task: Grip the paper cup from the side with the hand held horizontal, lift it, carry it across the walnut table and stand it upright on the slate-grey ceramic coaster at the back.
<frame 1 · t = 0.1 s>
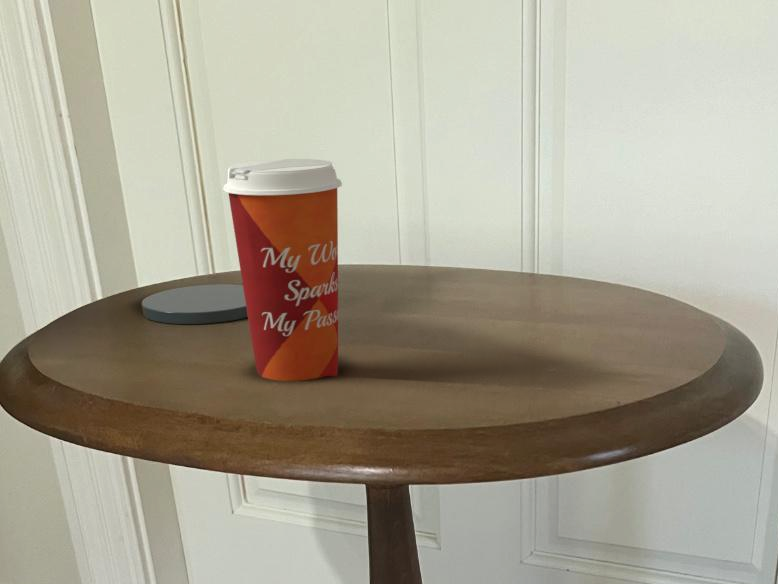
coaster: (206, 309, 96), on the table
paper cup: (299, 380, 76), on the table
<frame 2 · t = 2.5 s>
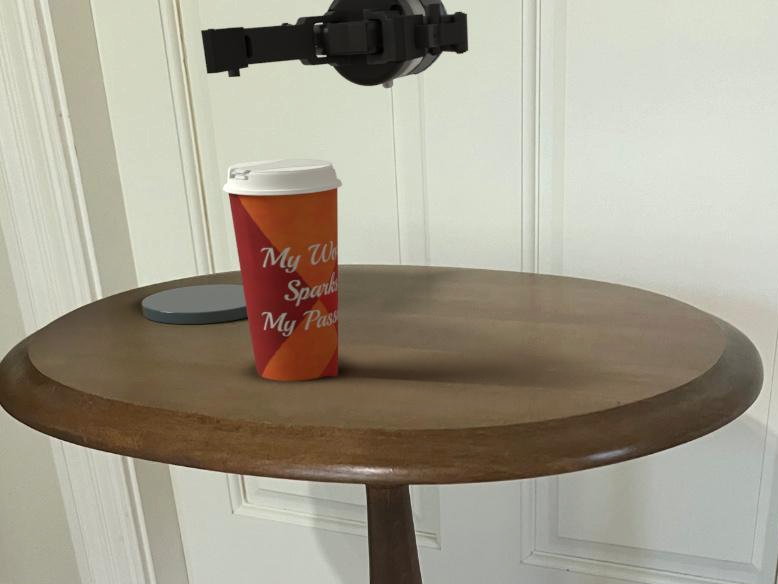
hand: (302, 45, 74), 21 cm above the table, tool horizontal, fingers open, 13 cm apart
nothing on the table moved.
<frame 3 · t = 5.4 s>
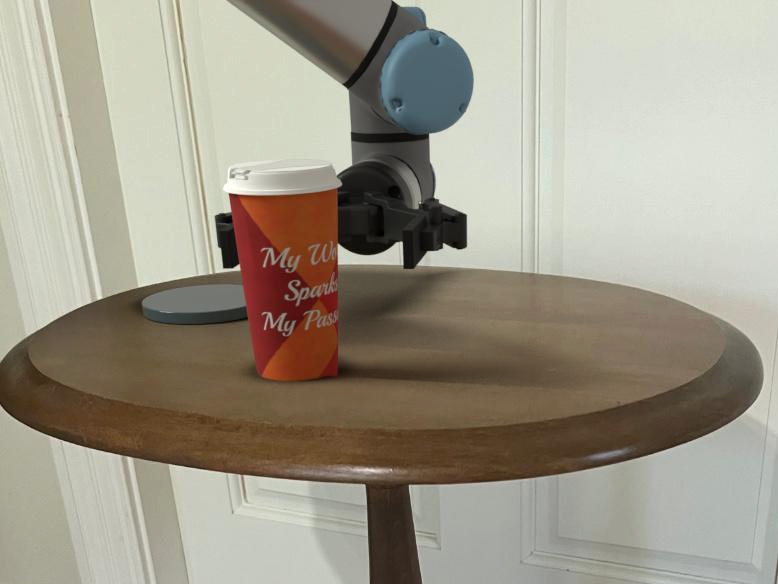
hand: (315, 249, 79), 7 cm above the table, tool horizontal, fingers open, 13 cm apart
nothing on the table moved.
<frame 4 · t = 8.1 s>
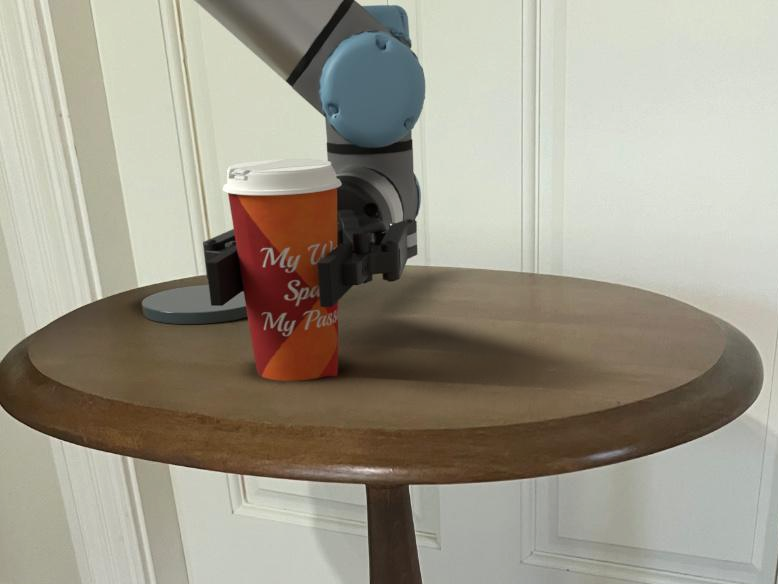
hand: (269, 284, 68), 7 cm above the table, tool horizontal, fingers closed on paper cup, 6 cm apart
paper cup: (299, 380, 76), on the table, touching gripper
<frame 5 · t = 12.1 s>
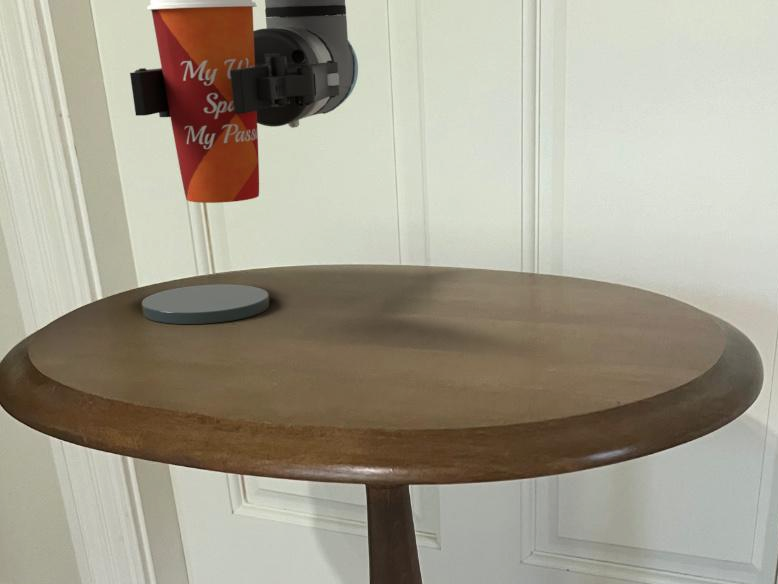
hand: (187, 93, 75), 18 cm above the table, tool horizontal, fingers closed on paper cup, 6 cm apart
paper cup: (223, 199, 83), point 10 cm above the table, touching gripper
when the fingers open (8 cm above the table, at t = 16.4 s): paper cup stays where it is, resting on coaster.
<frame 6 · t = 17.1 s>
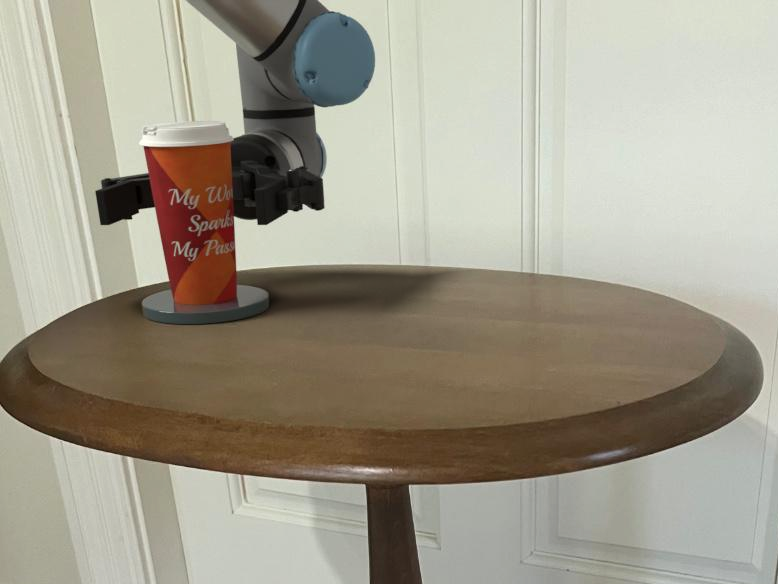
hand: (180, 207, 88), 9 cm above the table, tool horizontal, fingers open, 13 cm apart
paper cup: (206, 299, 95), point 1 cm above the table, touching coaster
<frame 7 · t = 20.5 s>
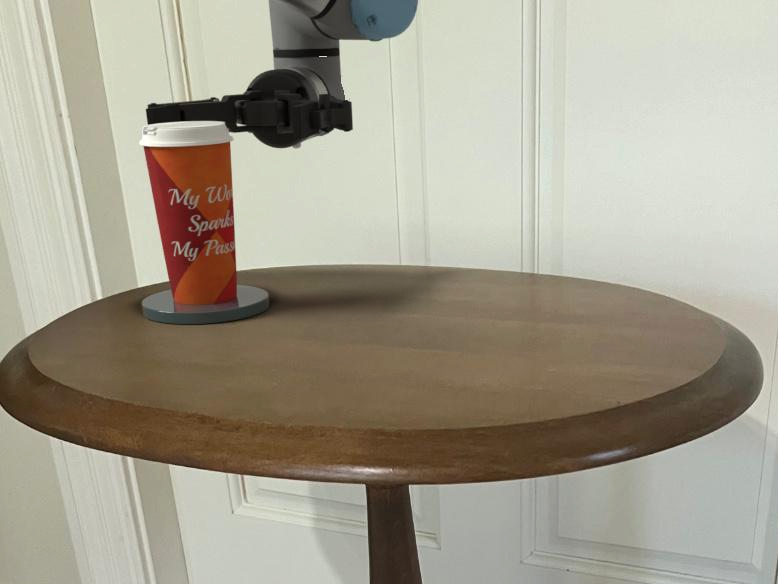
hand: (223, 124, 97), 14 cm above the table, tool horizontal, fingers open, 13 cm apart
nothing on the table moved.
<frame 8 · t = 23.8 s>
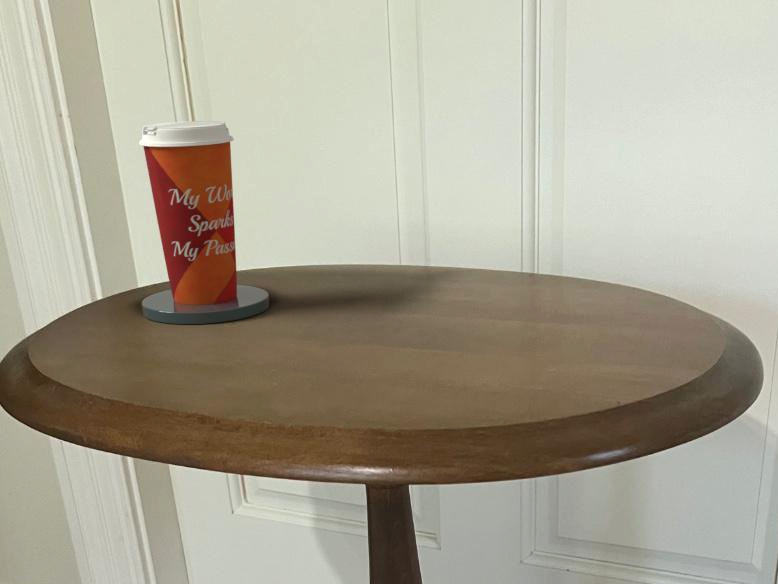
nothing on the table moved.
at the end: paper cup 0.0 cm off-centre on the coaster, point 0.8 cm above the coaster's base; paper cup tilted 0°; the gripper is holding nothing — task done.
